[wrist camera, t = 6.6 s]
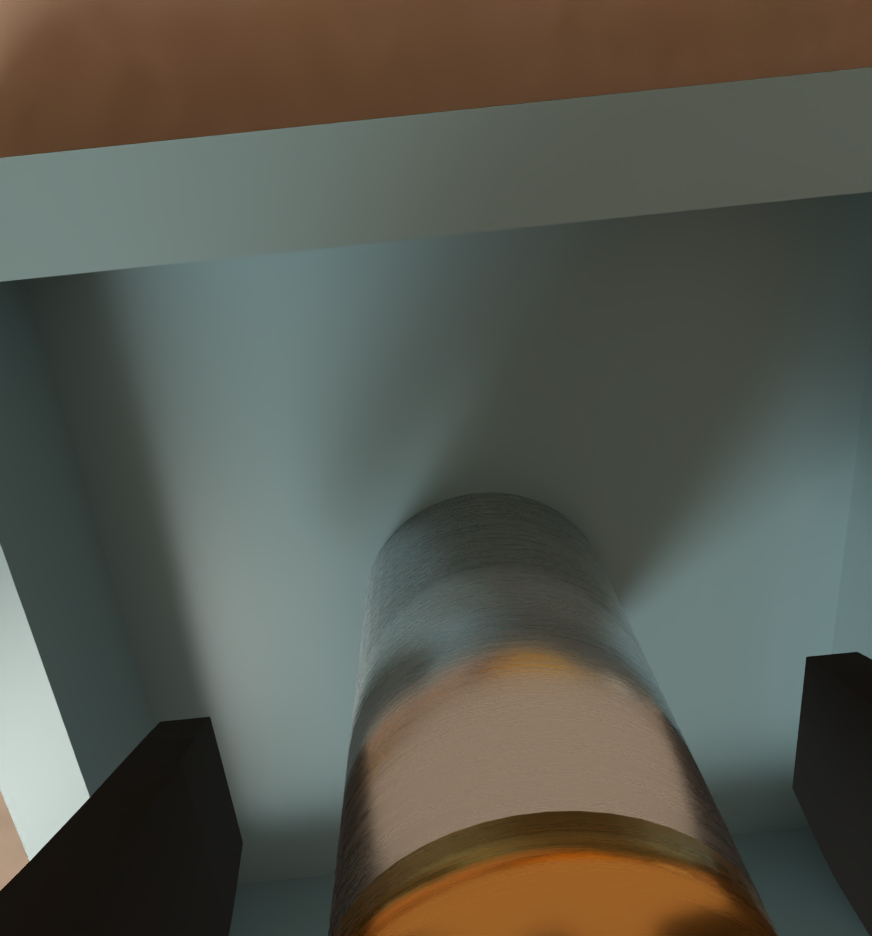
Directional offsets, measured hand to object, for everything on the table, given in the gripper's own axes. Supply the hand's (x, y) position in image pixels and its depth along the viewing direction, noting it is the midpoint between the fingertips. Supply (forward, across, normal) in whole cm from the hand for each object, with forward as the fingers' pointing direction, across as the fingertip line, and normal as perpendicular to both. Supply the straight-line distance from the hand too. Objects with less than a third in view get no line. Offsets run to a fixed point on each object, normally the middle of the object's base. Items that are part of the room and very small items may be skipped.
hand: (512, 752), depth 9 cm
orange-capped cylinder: (+4, 0, 0) cm, 4 cm away
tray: (+4, 0, 0) cm, 4 cm away
